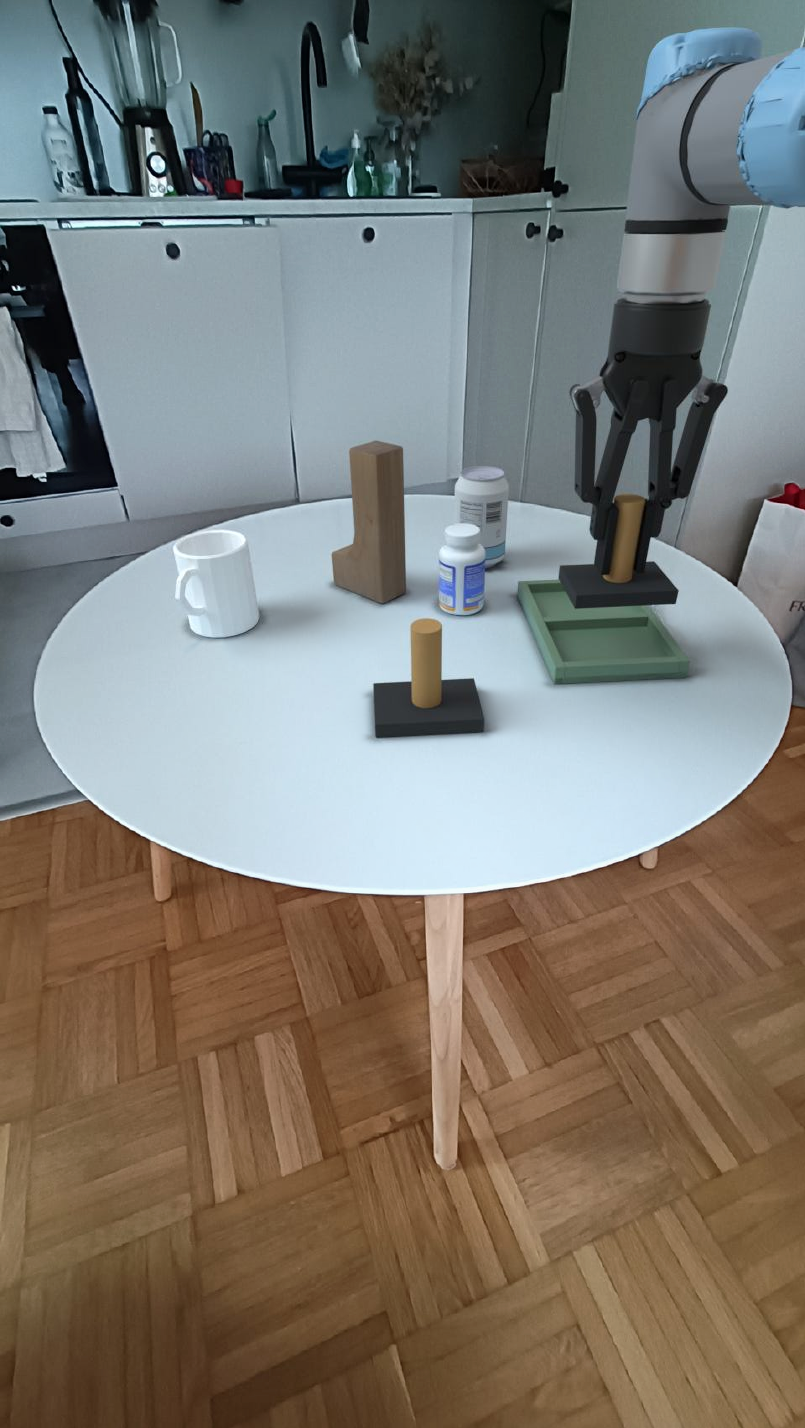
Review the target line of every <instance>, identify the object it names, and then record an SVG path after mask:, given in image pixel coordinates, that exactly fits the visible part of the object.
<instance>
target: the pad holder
mask: <svg viewBox="0 0 805 1428" xmlns="http://www.w3.org/2000/svg"><path fill="white" fill-rule="evenodd" d="M516 597H517V600H518V602H519V604H520V607H521V609H522V611H523V614H524V616H525V619H526V621H527V624H528V625H529V628H530V630H531V633H532V635H533V638H534V641H535V642H536V645H537V647H538V650H539V652H540V655H541V657H542V659H543V662H544V663H545V666H546V668H547V671H548V673H549V676H550V678H551V681H552V683H553V684H555V685H558V684H559V685H560V684H562V685H563V684H579V683H581V684H583V683H599V682H600V683H602V682H620V681H641V680H660V679H661V680H662V679H679V678H680V679H681V678H687V675H688V670H689V667H690V664H691V663H690V662H691V660H690V658H688V656H687V655H686V653H685V652H684V650H683V649H682V648H681V647H680V645H679V644H678V643H677V641H676V640H675V639H674V637H673V636H672V634H671V633H670V632H669V631H668V629H667V628H666V626H665V625H664V624H663V623H662V621H661V620H660V618H659V617H658V615H657V614H656V612H654V610H653V609H652V608H651V605H644V606H623V607H602V608H581V609H575V608H574V606H573V604H572V602H571V601H570V599H569V597H568V595H567V593H566V591H565V590H564V588H563V586H562V584H561V582H560V580H559V578H557V579H537V580H536V579H535V580H522V581H521V580H520V581H519V580H518V581H517V591H516Z"/></svg>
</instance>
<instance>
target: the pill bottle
mask: <svg viewBox="0 0 805 1428" xmlns="http://www.w3.org/2000/svg"><path fill="white" fill-rule="evenodd" d="M443 539H444V542H445V544H444V545H442V546H441V547H440V548H439V551H438V604H439V607H440V609H441V610H442V611H444V613H448V614H450V615H455V616H470V615H473V614H476V613H477V612H480V611H481V610H482V609H483V607H484V604H485V603H484V602H485V584H486V583H485V582H486V581H485V579H486V568H485V549H484V548H483V546H482V545H480V544H479V541H480V529H479V528H478V527H477V526H475V525H472V524H467V523H458V524H454V523H453V524H450V525H448V526H446V527H445V529H444V538H443Z"/></svg>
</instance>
